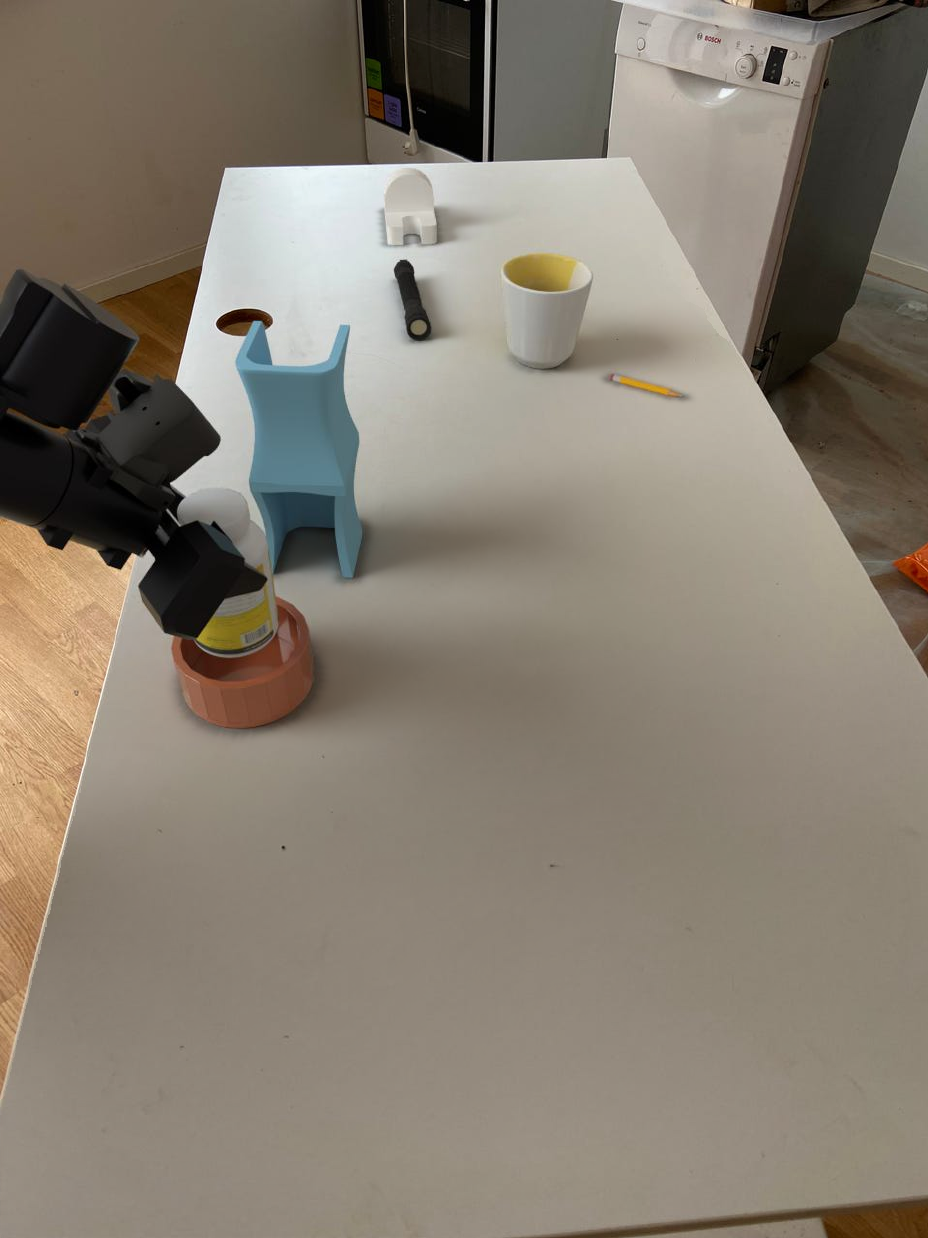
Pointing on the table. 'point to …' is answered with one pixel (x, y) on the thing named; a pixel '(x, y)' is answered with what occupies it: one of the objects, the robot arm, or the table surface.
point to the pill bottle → (255, 614)
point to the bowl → (249, 676)
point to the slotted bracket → (409, 207)
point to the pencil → (644, 385)
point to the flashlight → (412, 302)
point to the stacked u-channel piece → (302, 445)
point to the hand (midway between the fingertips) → (241, 557)
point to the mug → (544, 306)
